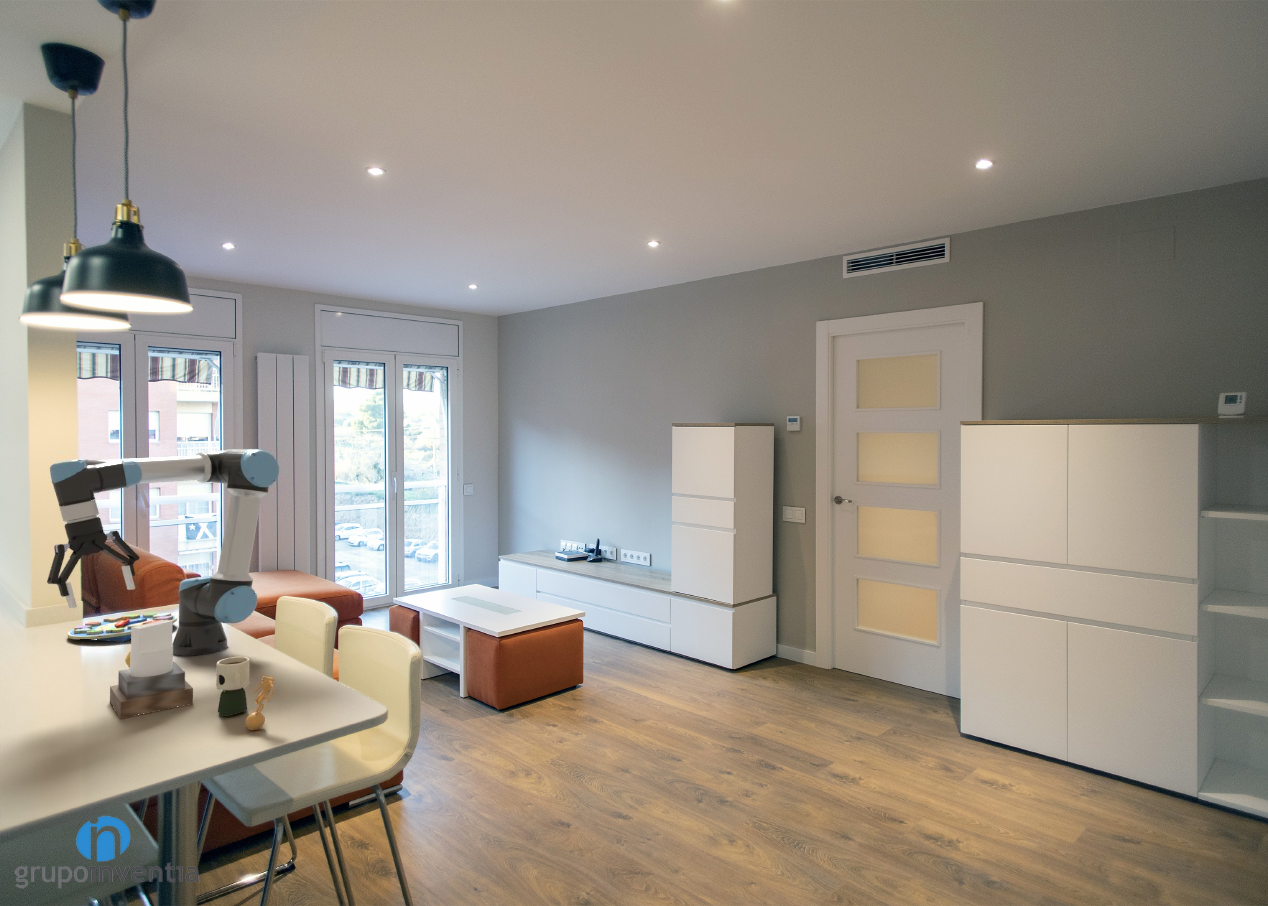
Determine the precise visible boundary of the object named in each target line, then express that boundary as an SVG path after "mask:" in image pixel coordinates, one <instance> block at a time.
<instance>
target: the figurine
mask: <svg viewBox="0 0 1268 906" xmlns="http://www.w3.org/2000/svg"><path fill="white" fill-rule="evenodd" d="M274 683H275V678H273V677H270V676H269V677H267V676H266V675H263V676H262V677H261V683H260V684H259V685H257V687H256V689H255V690H254V691H253V694H256V693H257V691H258V690H259V689H260V688H262V689H261V691H260V693H259V694H258V695H257V697H256V698H255V699H254V702H255V703H256V705H258V706H257V708H256V709H255V710H254V711H252V713H249V715H248V716H247V717H246V719H245V721H244V722H245V723H244V724H245V726H246V728H247V729H248V730H250V731H257V730H260V729H261V728H262V727H263V726H264V725H265V721H266V717H265V715H264V714H263V713H262V711H263V709H264V707H265V705H264V703H263V702H264V701H265V700H266V702H267V703H270V702H271V699H272V696H273V693H274V690H275V685H274ZM269 692H270V693H269ZM268 693H269V694H268ZM267 697H268V698H267Z"/></svg>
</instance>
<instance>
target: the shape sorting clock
mask: <svg viewBox="0 0 1268 906" xmlns="http://www.w3.org/2000/svg"><path fill="white" fill-rule="evenodd" d="M102 620H103V621H90V622H89V621H88V622H85V624H84V625H78V626H74V627H73V629H72V630H69V631H68V632H67V638H68V639H70V640H80V639H97V640H110V641H109V642H114V641H120V642H119V643H124V641H125V642H128V641H131V640H130V639H131V627H135V626H139V625H144V624H148V623H152V622H157V621H161V620H171V621H172V626H173V625H174V623H176V622H177V621H178V617H177V615H174V614H172V613H171V612H165V613H156V612H154V613H153V612H147V613H143V614H137V613H136V614H125V615H122V616H119V617H106V618H103V619H102ZM97 640H96V641H97ZM127 640H128V641H127Z"/></svg>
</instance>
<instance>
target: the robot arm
mask: <svg viewBox="0 0 1268 906" xmlns="http://www.w3.org/2000/svg"><path fill="white" fill-rule="evenodd" d="M279 467H280V466H279V463H278V460H277V459H276V458H275V456H274V455H273V454H272V453H270V452H269V451H267V450H264V449H263V450H262V449H258V448H230V449H222V450H216V451H207V452H206V451H205V452H198V453H196V454H195V455H189V456H188V455H185V456H165V457H164V456H161V457H141V458H114V459H113V458H112V459H90V460H89V459H82V458H79V459H73V460H67V461H62V462H57V463H56V462H55V463H53V464H51V465H50V467H49V473H50V479H51V484H52V485H53V490H54V493H55V495H56V499H57V500H56V501H57V503H58V507H59V511H60V514H61V518H62V522H65V524H64V529H65V533H66V537H67V540H68V542H67V543H58V544H55V545H54V546H53V549H54V557H53V560H52V563H51V567H50V570H49V573H48V577H47V581H46V583H47V584H48V585H57V586H58V591H59V594H60V596H61V597H65V599H66V603H67V607H68V609H75V608H78V605H77V602H76V597H75V594H74V590H73V587H72V583H71V582H67V581H68V580H69V578H70V577H71V574H72V573H73V571H74V569H75V567H77V564H78V562H79V561H80V559H82V557H86V556H90V555H92V554H98V553H100V552H102V553H105V555H108V556H109V557H111V558H112V559H114V560H116V561H118V562H120V563H121V564H123V565H122V566H121V570H122V571H121V572H122V575H123V577H124V578H123V579H124V582H125V586H126V590H129V591H130V590H135V589H136V586H135V581H134V578H133V577H134V576H136V572H135V568H134V564H135V563H136V562H137V561H139V560H140V555H138V554H137V552H135V551H134V550H133V548H132V547H130V546H129V545H128V544H127V543H126V541H125V540H124V539H123V538H122V537H121V534H120V533H119V531H118V530H111V531H109V532H108V533H105V532H104V527H103V523H102V520H101V518H100V517H99V515H100V512H99V509H98V506H97V505H98V504H97V500H96V497H95V494H99V493H101V492H102V493H103V492H108V491H114V490H118V489H119V490H120V489H124V488H126V489H127V488H130V487H133V486H137V485H141V484H143V485H144V484H153V483H155V484H156V483H170V482H171V483H172V482H184V481H185V482H186V481H197V482H199V483H217V484H226V490H227V492H228V493H229V494H230V498H229V499H230V500H229V504H228V510H227V517H226V522H225V526H224V527H225V528H224V533H223V538H222V545H221V549H220V550H221V551H220V555H219V561H218V567H217V571H216V572H215V573H214V574H212V575H205V576H198V577H191V578H185V579H183V580H181V581H180V583H179V587H178V627H177V631H176V633H175V636H174V639H173V640H172V645H173V655H175V656H182V657H183V656H184V657H185V656H188V657H189V656H192V657H193V656H202V655H208V654H213V653H217V652H220V651H223V650H225V649H226V648H228V637H227V635H226V633H225V629H224V627H223V624H238V623H241V622H243V621H245V620H246V619H247V618H249V617H250V616H251V615H252V614H253V613H254V611H255V610H256V608H257V604H258V595H257V593H256V591H255V590H254V588H252V587H253V582H254V579H253V578H252V576H251V575H250V574H249V573H250V567H251V562H252V555H253V549H254V543H255V538H256V532H257V528H258V527H257V526H258V520H259V513H260V509H261V502H262V499H263V497H265V496H266V495H268V494H269V493H268V492H269V488H270V486H272V485H273V484H274V483H275V482H276V481H277V479H278V477H279V475H280V468H279ZM108 539H109V541H112V542H113V544H115V545H116V546H117V547H118V549H119V550H120V551H122V552H123V554H122V553H121V552H119V551H117V550H115V549H114V548H112V546H110V545H109V544H106V542H107V540H108ZM68 549H70V550H71V551H72V552H71V554H70V556H69V559H68V561H67V562H66V564H65V566H64V568H63V569H62V566H63V562H64V559H65V555H66V552H67V551H68ZM61 569H62V571H61ZM60 572H61V573H60Z"/></svg>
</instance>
